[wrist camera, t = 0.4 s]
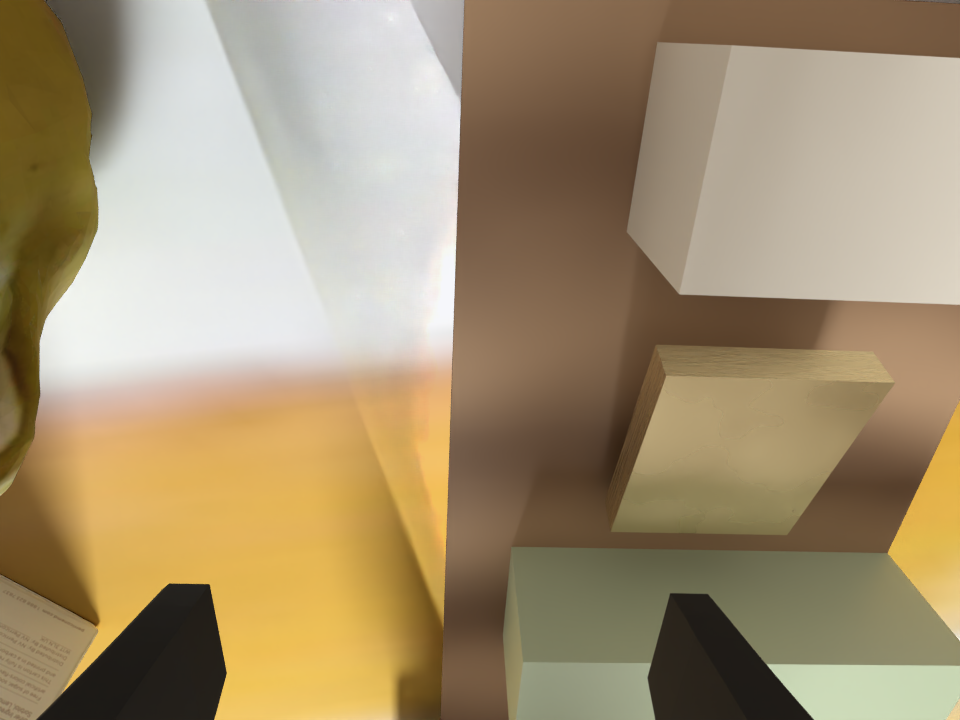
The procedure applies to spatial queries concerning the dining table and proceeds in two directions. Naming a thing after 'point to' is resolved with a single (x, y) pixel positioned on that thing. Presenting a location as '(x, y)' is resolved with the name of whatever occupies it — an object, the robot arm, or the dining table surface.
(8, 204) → the mug
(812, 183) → the button white
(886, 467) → the panel
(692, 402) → the tan flat block
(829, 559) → the light green rectangular bar
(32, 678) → the supplement box
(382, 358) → the dining table surface
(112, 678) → the robot arm
